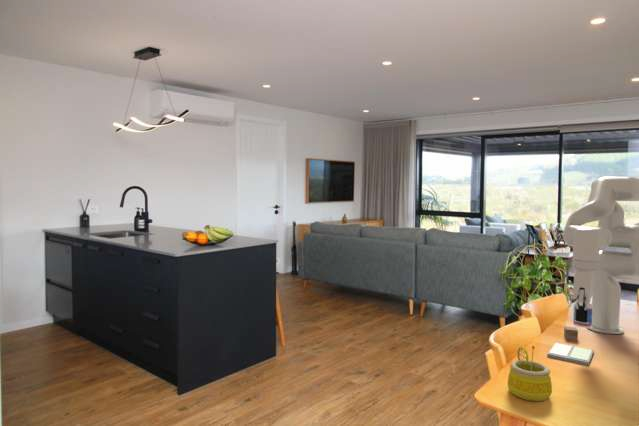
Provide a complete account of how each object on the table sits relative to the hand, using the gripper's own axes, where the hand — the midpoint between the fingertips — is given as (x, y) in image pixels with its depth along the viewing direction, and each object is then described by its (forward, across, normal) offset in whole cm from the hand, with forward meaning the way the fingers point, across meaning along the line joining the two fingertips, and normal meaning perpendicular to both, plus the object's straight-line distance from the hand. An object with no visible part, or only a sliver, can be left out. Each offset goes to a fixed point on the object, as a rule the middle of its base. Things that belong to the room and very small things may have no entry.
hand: (582, 318), depth 152 cm
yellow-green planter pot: (+13, +40, -8) cm, 43 cm away
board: (+13, 0, -3) cm, 13 cm away
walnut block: (+13, -19, -6) cm, 24 cm away
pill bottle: (+2, 0, 0) cm, 2 cm away
